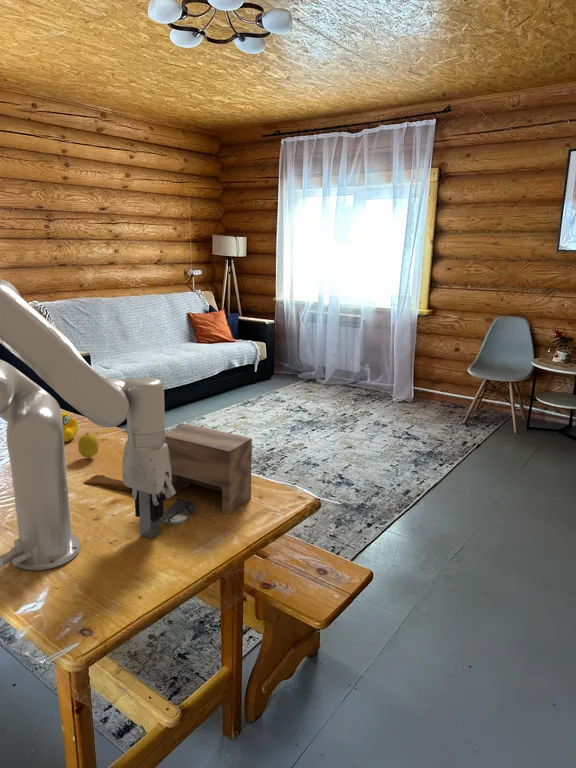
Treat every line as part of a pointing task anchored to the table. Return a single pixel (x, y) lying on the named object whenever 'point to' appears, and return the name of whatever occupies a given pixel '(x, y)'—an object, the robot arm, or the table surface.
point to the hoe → (153, 528)
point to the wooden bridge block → (211, 462)
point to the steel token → (178, 517)
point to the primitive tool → (107, 483)
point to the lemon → (88, 445)
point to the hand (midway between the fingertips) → (149, 515)
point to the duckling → (69, 426)
